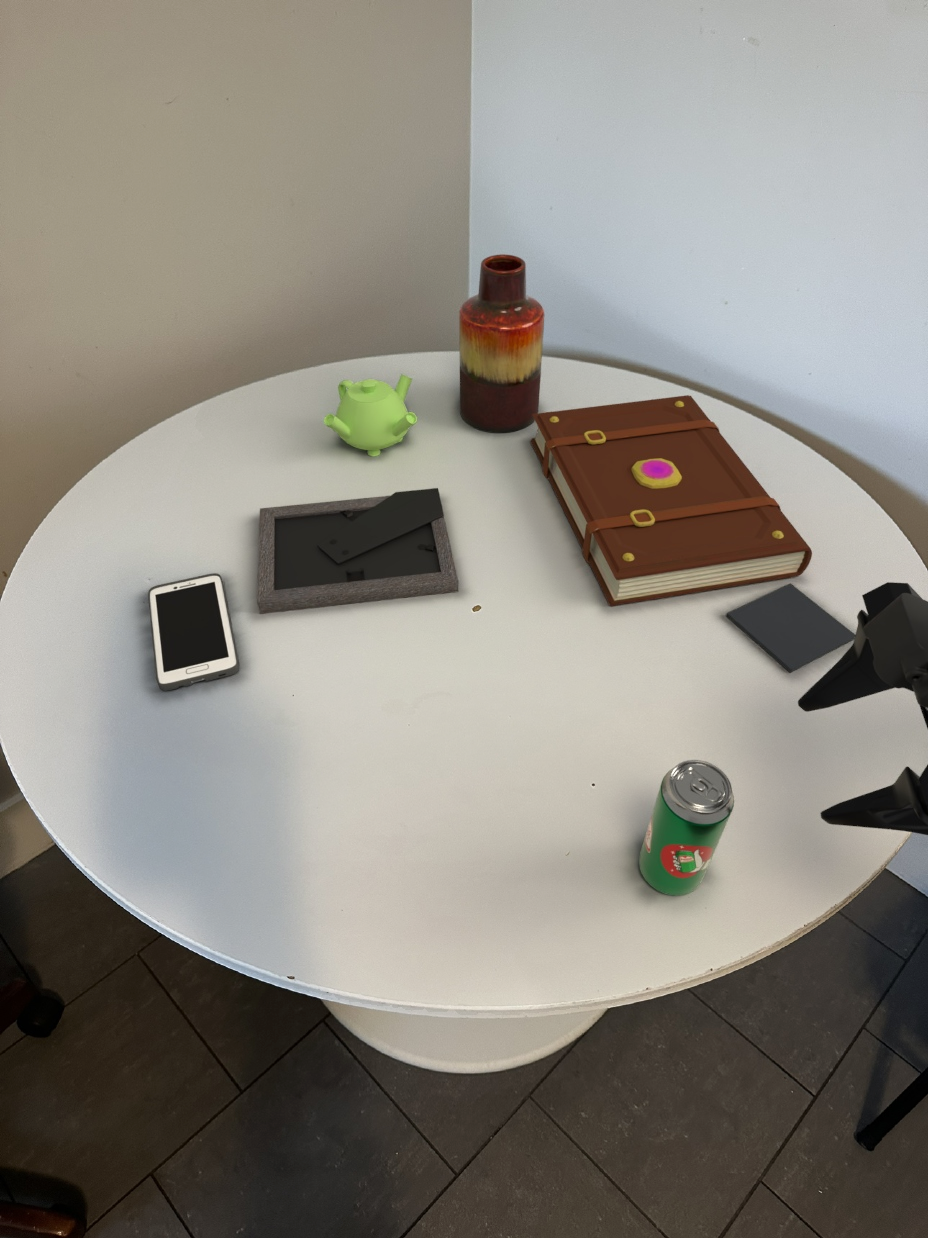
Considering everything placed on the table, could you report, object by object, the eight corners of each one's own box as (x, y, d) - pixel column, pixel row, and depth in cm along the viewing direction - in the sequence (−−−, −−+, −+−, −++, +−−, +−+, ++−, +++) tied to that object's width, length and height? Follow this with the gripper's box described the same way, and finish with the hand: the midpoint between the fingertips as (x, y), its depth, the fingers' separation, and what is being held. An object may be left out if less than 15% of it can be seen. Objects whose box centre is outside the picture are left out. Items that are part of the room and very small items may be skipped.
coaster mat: (789, 586, 88) (790, 582, 87) (855, 639, 82) (856, 635, 82) (726, 616, 85) (727, 612, 84) (790, 673, 79) (791, 669, 79)
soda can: (659, 829, 67) (686, 743, 59) (714, 865, 65) (750, 781, 57) (625, 872, 65) (649, 788, 56) (681, 912, 62) (715, 831, 54)
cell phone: (159, 694, 78) (156, 687, 77) (149, 593, 87) (146, 586, 87) (241, 674, 79) (239, 667, 79) (222, 577, 89) (220, 570, 88)
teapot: (333, 418, 112) (326, 361, 106) (417, 415, 112) (414, 358, 106) (329, 465, 104) (320, 407, 98) (419, 462, 104) (416, 403, 98)
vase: (554, 414, 112) (567, 264, 98) (494, 442, 107) (498, 289, 93) (502, 383, 118) (507, 238, 103) (444, 409, 113) (440, 260, 99)
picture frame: (438, 501, 99) (262, 518, 96) (438, 487, 97) (259, 505, 95) (458, 591, 88) (259, 613, 85) (458, 577, 86) (256, 600, 84)
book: (607, 607, 86) (613, 572, 82) (528, 442, 107) (530, 409, 104) (806, 576, 89) (820, 540, 85) (690, 422, 111) (697, 388, 107)
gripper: (944, 479, 50) (726, 601, 59) (1061, 723, 37) (759, 830, 46) (1027, 580, 54) (813, 678, 64) (1158, 829, 41) (865, 907, 51)
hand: (811, 759), depth 56 cm, fingers open, 9 cm apart
